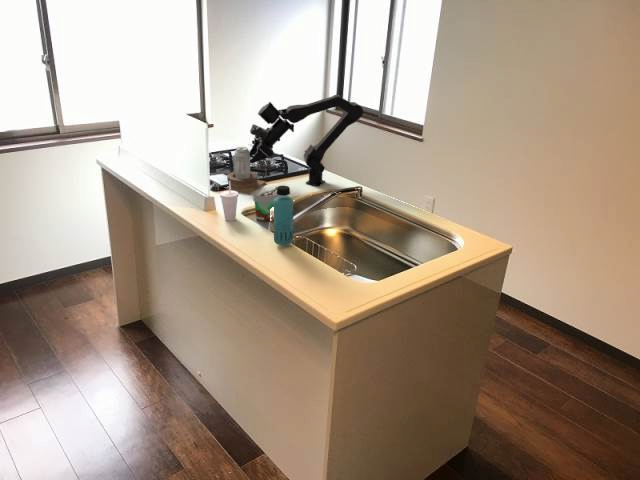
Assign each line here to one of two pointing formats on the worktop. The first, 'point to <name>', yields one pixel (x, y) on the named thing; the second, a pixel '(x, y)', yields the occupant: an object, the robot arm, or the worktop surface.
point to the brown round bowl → (244, 183)
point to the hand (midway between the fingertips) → (249, 159)
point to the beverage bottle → (283, 217)
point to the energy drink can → (242, 163)
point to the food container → (264, 205)
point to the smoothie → (229, 203)
